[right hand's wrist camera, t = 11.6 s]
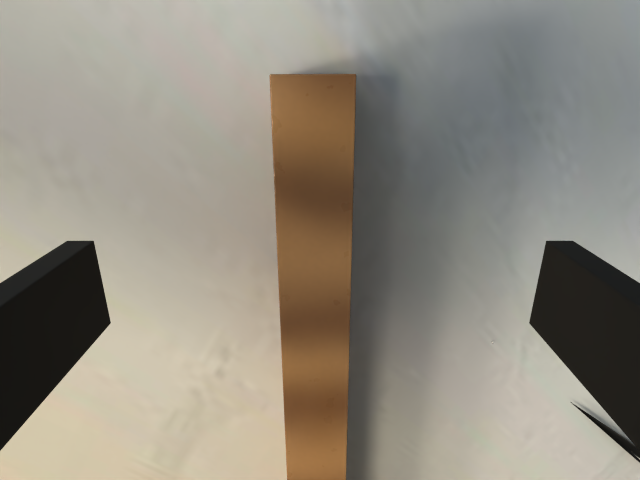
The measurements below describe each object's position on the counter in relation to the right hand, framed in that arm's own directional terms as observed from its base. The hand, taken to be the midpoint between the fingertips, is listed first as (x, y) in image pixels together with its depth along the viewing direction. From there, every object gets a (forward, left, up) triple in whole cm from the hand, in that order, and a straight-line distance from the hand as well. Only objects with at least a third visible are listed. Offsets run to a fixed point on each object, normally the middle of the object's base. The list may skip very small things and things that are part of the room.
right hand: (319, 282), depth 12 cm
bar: (-3, -26, -21) cm, 33 cm away
